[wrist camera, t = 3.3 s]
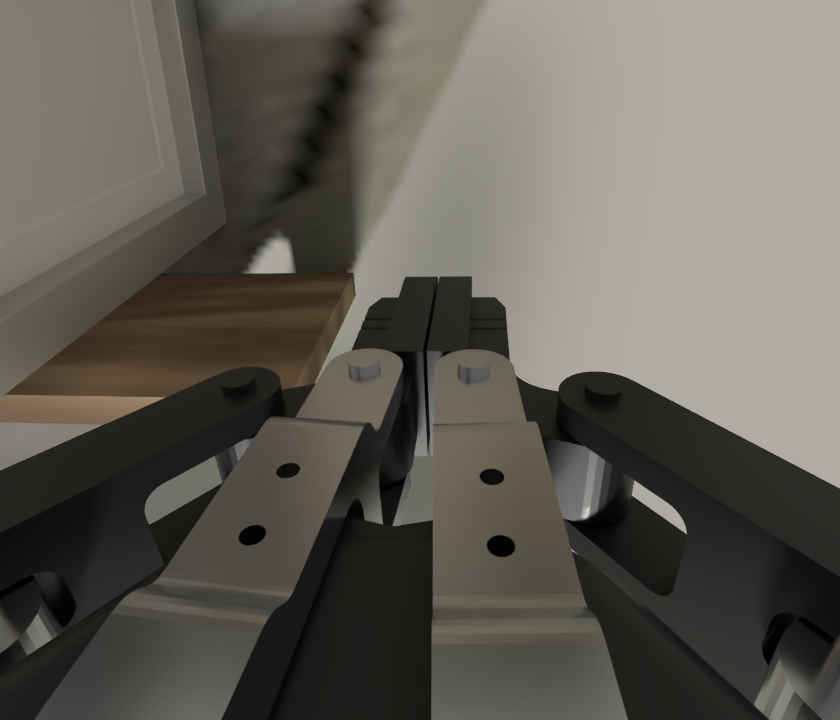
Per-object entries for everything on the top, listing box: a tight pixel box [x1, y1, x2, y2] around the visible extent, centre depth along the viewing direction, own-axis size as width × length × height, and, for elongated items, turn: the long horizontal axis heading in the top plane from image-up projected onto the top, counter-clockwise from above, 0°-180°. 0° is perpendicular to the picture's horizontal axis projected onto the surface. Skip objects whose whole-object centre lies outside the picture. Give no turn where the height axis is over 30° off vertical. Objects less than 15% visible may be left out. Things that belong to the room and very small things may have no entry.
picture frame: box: [0, 0, 227, 398], centre depth 22 cm, size 16×3×21 cm, turn 178°
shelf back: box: [0, 273, 356, 424], centre depth 31 cm, size 2×28×14 cm, turn 92°
